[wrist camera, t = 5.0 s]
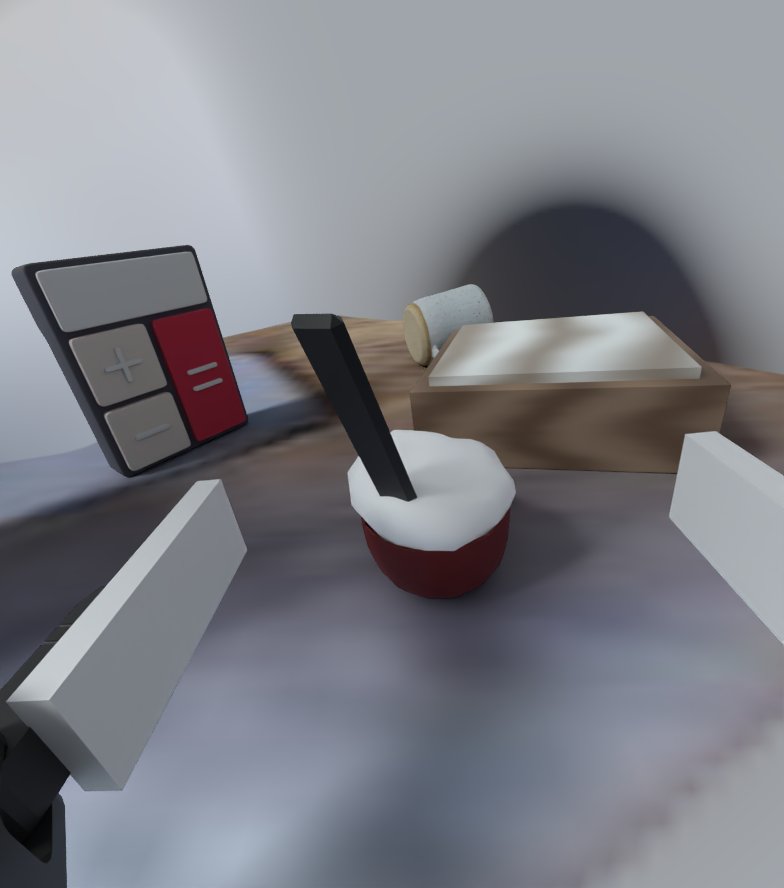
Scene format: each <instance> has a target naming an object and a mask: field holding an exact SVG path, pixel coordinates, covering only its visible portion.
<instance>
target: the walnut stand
mask: <svg viewBox="0 0 784 888" xmlns="http://www.w3.org/2000/svg"><path fill="white" fill-rule="evenodd" d="M730 387H731V384H729V383H728V382H727V381H726V380H725V379H724V378H723V377H722V376H720V375H719V374H718V373H717V372H716V371H715V370H714V369H713V368H711V367H710V366H709V365H708V364H707V363H706V362H705V361H704V360H702V359H701V358H700V357H699V356H698V355H697V354H696V353H694V352H693V351H692V350H691V349H690V348H689V347H688V346H687V345H686V344H684V343H683V342H682V341H681V340H680V339H679V338H678V337H677V336H675V335H674V334H673V333H672V332H671V331H670V330H669V329H668V328H666V327H665V326H664V325H663V324H662V323H661V322H660V321H658V320H657V319H656V318H655V317H654V316H647V315H646V314H645V313H644V312H634V313H619V314H606V315H593V316H579V317H567V318H553V319H539V320H526V321H512V322H499V323H485V324H472V325H463V326H462V327H461V329H460V330H454V331H453V332H452V334H451V335H450V337H449V338H448V339H447V341H446V342H445V344H444V345H443V346H442V348H441V349H440V351H439V352H438V353H437V355H436V356H435V358H434V359H433V360H432V362H431V363H430V365H429V366H428V367H427V369H426V370H425V372H424V373H423V374H422V376H421V377H420V379H419V380H418V381H417V383H416V384H415V386H414V387H413V388H412V390H411V391H410V401H411V409H412V417H413V425H414V431H426V432H434V433H439V434H443V435H445V436H448V437H450V438H459V439H472V440H475V441H479V442H482V443H483V444H485V445H486V446H488V447H489V448H491V449H492V450H494V451H495V453H496V455H497V457H498V458H499V460H500V462H501V463H502V465H503V466H504V467H505V468H535V469H565V470H595V471H625V472H655V473H678V468H679V463H680V458H681V453H682V448H683V443H684V438H685V434H691V433H702V432H712V431H716V432H718V433H719V434H720V430H721V425H722V421H723V417H724V413H725V409H726V404H727V400H728V396H729V392H730Z"/></svg>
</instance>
